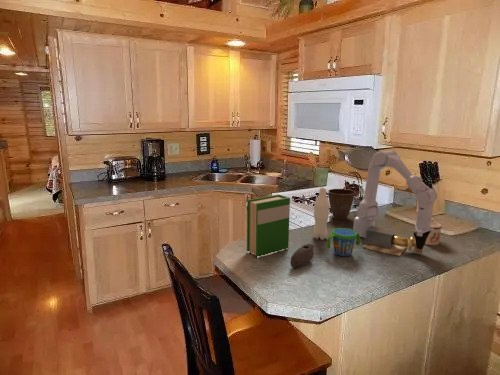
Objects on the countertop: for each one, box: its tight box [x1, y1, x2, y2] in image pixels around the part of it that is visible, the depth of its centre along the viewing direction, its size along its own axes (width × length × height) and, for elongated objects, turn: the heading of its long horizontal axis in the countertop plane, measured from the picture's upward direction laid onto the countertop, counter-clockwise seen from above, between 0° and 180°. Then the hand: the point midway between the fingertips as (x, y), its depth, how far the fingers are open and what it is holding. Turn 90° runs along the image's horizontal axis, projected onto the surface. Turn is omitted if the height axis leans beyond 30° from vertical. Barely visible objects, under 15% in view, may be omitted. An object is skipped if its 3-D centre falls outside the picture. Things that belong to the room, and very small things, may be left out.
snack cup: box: [326, 227, 361, 257], centre depth 150 cm, size 16×10×10 cm
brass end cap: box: [391, 235, 425, 254], centre depth 153 cm, size 15×6×8 cm, turn 55°
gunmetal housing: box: [364, 225, 396, 250], centre depth 159 cm, size 11×7×7 cm, turn 55°
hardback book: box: [246, 194, 291, 257], centre depth 150 cm, size 18×7×24 cm, turn 126°
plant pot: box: [327, 188, 356, 221], centre depth 199 cm, size 15×15×16 cm
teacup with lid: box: [425, 218, 443, 246], centre depth 164 cm, size 12×9×12 cm
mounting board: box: [362, 244, 406, 257], centre depth 159 cm, size 16×14×1 cm
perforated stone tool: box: [290, 243, 315, 269], centre depth 140 cm, size 15×5×7 cm, turn 138°
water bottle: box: [312, 187, 330, 241], centre depth 167 cm, size 7×7×25 cm
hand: (420, 247), depth 150 cm, fingers closed on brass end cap, 4 cm apart
